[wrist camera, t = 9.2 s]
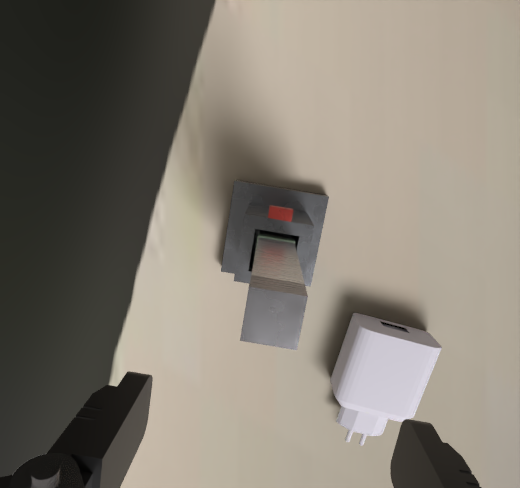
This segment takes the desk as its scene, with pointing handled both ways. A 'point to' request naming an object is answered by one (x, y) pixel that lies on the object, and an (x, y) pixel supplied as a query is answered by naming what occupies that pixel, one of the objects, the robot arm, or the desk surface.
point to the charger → (381, 374)
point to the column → (275, 293)
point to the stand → (272, 225)
